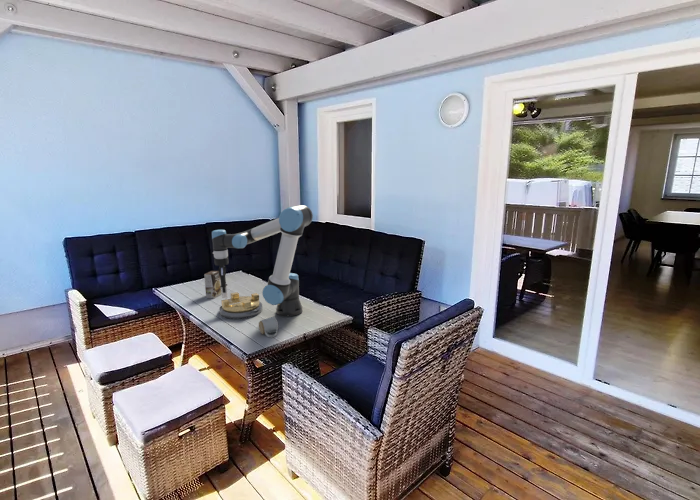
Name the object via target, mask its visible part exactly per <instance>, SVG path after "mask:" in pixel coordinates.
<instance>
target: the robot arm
mask: <svg viewBox="0 0 700 500" xmlns="http://www.w3.org/2000/svg"><path fill="white" fill-rule="evenodd" d="M313 215H314V214H313V212H312V209H310V207H308V206H307V205H303V204H299V205H295V206H289V207H286V208H284V209H283V210H282V211H281V212H280V214H279V216H278V217H277V218H276V219H272V220H270V221H267V222H265V223H262V224H260V225H257V226H256V227H253V228H250V229H247V230H245V231H242V232H238V233H232V234H231V233H227V231H226V230H225V229H215V230H212V231H211V241H212V250H213V252H212V254H213V258H214V259H213V262H214V265H215V266H219V267H217V271H219V276H220V280H221V286H220V287H221V290H222V294H221V298H222V299H225V298H226V299H227V298H228V289H227V288H228V287H227V286H228V284H227V280H226V275H227V272H226V271H227V267H226V265H229V250H228V248H229V249H244V248H245V247H246V246H247V245H250V244H252V243H255V242H257V241H260V240H262V239H265V238H268V237H270V236H274V235H277V234H278V233H281V237H280V242H279V246H278V249H277V254H276V259H275V263H274V268H273V273H272V274H271V275H270V276H269V277H268V281H267V285H265V286H264V288H263V289H262V292H261V293H262V297H263V299H264V300H265V302H266V303H267V304H269V305H271V306H276V308H275V309H276V312H275V313H276V314H277V315H278V316H281V317H294V316H298V315H300V314H302V313H303V306H302V303H301V300H300V287H299V286H300V280H299V275H298V274H297V273H293V272H291V270H292V265H293V262H294V258H295V254H296V250H297V246H298V245H297V244H298V241H299V238H300V237H302V236H303V233H304V229H305V227H307V226H309V225H310V224H311V223H312V221H313V217H314V216H313Z"/></svg>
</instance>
